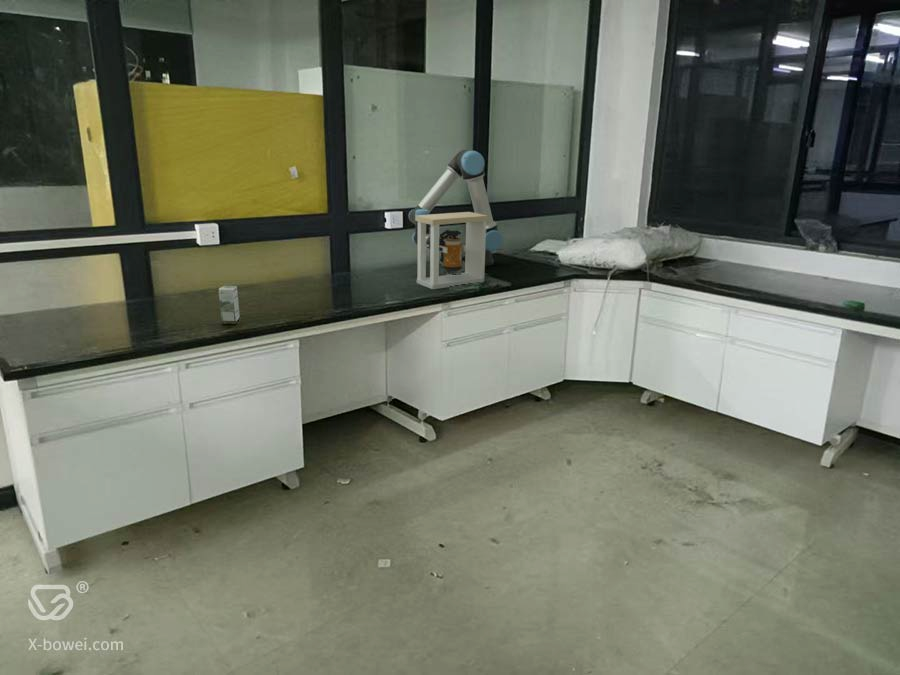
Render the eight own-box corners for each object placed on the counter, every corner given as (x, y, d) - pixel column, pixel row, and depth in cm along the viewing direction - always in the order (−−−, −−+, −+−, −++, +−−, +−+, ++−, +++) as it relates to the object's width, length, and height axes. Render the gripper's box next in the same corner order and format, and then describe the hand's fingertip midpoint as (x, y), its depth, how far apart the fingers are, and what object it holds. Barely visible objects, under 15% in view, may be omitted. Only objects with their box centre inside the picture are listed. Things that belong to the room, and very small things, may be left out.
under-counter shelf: (467, 275, 335) (469, 211, 324) (485, 281, 323) (487, 215, 312) (415, 282, 318) (415, 215, 308) (432, 289, 306) (432, 219, 295)
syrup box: (240, 320, 253) (237, 285, 248) (236, 325, 247) (232, 289, 243) (226, 320, 253) (222, 285, 248) (221, 325, 247) (217, 289, 243)
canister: (461, 272, 314) (462, 232, 307) (439, 271, 314) (439, 231, 307) (461, 267, 322) (462, 228, 316) (439, 267, 323) (440, 228, 316)
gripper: (450, 247, 336) (474, 255, 319) (413, 251, 324) (436, 259, 307) (450, 233, 334) (474, 240, 316) (413, 236, 322) (436, 243, 304)
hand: (456, 249), depth 311 cm, fingers closed on canister, 10 cm apart
